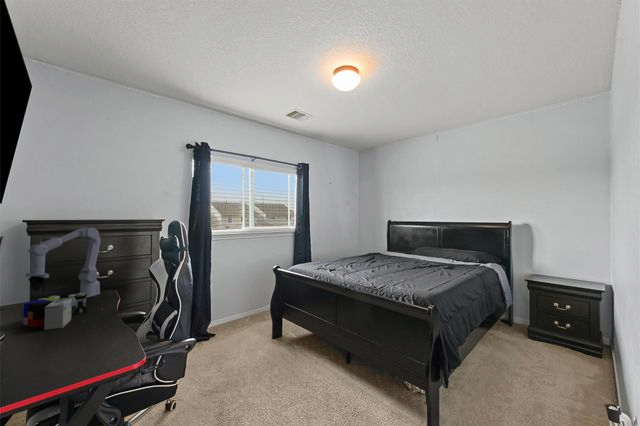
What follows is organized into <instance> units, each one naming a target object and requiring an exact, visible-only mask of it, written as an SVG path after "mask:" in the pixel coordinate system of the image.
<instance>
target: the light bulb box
mask: <svg viewBox="0 0 640 426" xmlns="http://www.w3.org/2000/svg"><path fill="white" fill-rule="evenodd" d="M61 299H62V298H61ZM72 307H73V306H72V299H62V300H54V301H53V302H52V303H50V304H49V305H47V306H45V324H44V325H43V327H44V331H46V330H47V331H48V330H55V329H62V328H64V327H65V326H66V325H68V323H69V322H71V320H72Z"/></svg>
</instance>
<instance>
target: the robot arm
mask: <svg viewBox="0 0 640 426" xmlns="http://www.w3.org/2000/svg"><path fill="white" fill-rule="evenodd" d="M99 233H100V231H99V230H98V229H96V228H94V227H81V228H77V229H76V230H73V231H71V232H69V233H67V234H65V235H62V236H60V237H50V238H49V239H48V240H45V241H40V242H39V244H33V245H31V246H30V247H29V248H28V253H29V254H30V262H29V263H30V267H29V272H27V273H25V277H26V278H27V277H30V278H28V281H29V283H30V284H31V286H32V290H33V291H39V290H41V288H42V285H43V283H44V281H45V280H46V279H47V278H50V274H49V273H46V272H45V271H46V270H45V269H46V255H47V253H48V252H50V251H52V250H54V249H56V248H59V247H61V246H62V244H63V243H65V242H68V241H70V240H72V239H75V238H83V239H86V241H87V242H88V243H89V245H88V249H87V252H86V259H85V262H84V267H83V268H82V269H81V270H80V273H79V274H78V276H77V277H78V280H80V287H79V288H80V289H79V293H85V294H87V296H86V299H87V298H90V297H94V296H98V295H101V283H100V281H99V280H98V269H97V267H96V265H97V260H98V255H99V251H100V246H101V237H100V234H99Z"/></svg>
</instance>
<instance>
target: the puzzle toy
mask: <svg viewBox="0 0 640 426" xmlns="http://www.w3.org/2000/svg"><path fill="white" fill-rule="evenodd" d="M45 298H46V299H42V298H40V299H41V300H32V301H29V302H24V303H23V317H22V321H23V322H22V325H24V326H29V327H33V328H34V327H35V328H40V327H42V326H43V327H44V324H45V306H47V305H49V304H50V303H52V302H53V301H54V300H62V298H60V299H57V298H49V297H45Z"/></svg>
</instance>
